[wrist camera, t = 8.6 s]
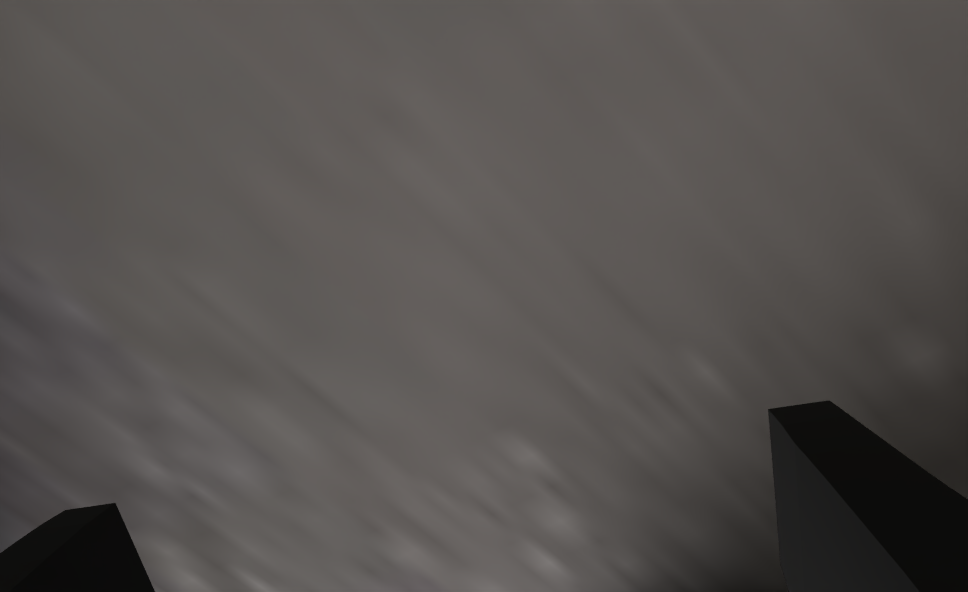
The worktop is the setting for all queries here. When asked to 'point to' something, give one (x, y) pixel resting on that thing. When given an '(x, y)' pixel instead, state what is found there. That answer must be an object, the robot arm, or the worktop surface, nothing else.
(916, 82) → the worktop surface
